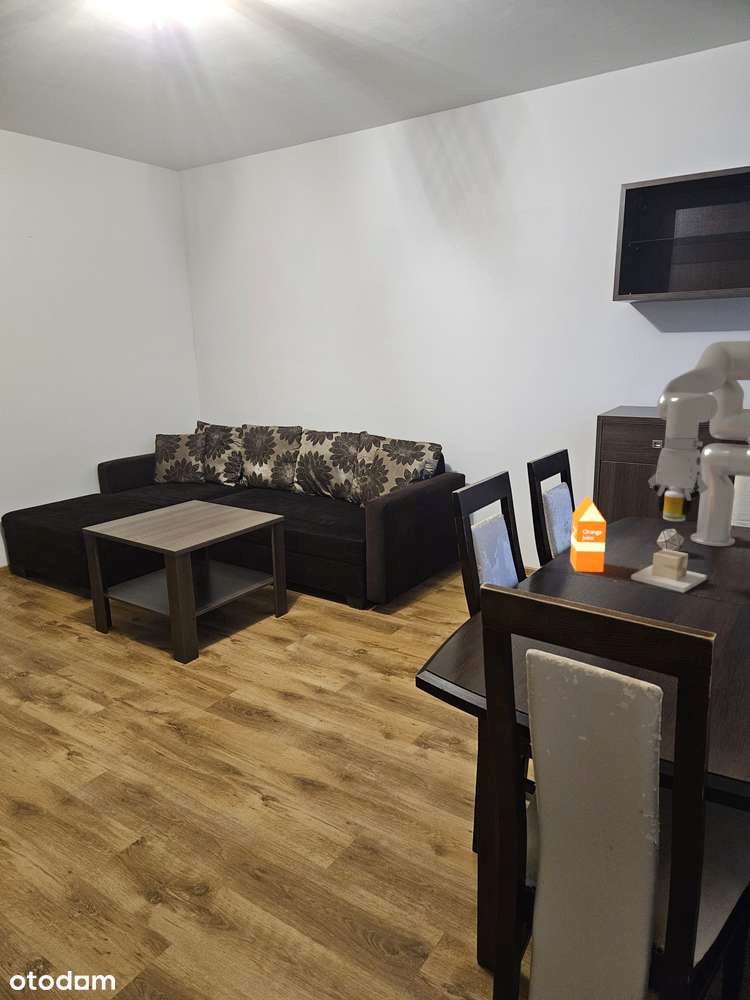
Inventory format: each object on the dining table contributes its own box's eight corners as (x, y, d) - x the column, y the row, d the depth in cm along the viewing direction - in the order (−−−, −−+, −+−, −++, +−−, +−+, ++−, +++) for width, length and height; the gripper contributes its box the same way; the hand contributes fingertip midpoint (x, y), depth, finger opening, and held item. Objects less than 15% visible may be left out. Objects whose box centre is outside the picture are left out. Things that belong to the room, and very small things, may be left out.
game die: (674, 566, 194) (692, 546, 187) (647, 555, 195) (664, 535, 188) (675, 545, 200) (693, 525, 193) (649, 535, 201) (665, 515, 194)
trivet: (654, 567, 182) (655, 563, 182) (706, 579, 172) (706, 575, 172) (631, 579, 173) (631, 575, 173) (683, 592, 163) (684, 588, 163)
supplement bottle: (683, 522, 165) (687, 485, 163) (661, 520, 168) (664, 484, 166) (686, 518, 170) (689, 482, 167) (664, 515, 172) (667, 480, 170)
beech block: (662, 569, 177) (664, 548, 175) (686, 575, 172) (688, 553, 171) (651, 574, 173) (653, 553, 171) (675, 580, 168) (677, 559, 167)
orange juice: (596, 562, 188) (601, 495, 183) (603, 572, 179) (608, 502, 175) (569, 561, 189) (573, 495, 184) (574, 571, 180) (578, 502, 176)
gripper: (721, 445, 161) (714, 515, 165) (654, 439, 173) (649, 504, 177) (709, 448, 156) (702, 520, 160) (641, 442, 168) (636, 509, 172)
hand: (674, 511), depth 168 cm, fingers closed on supplement bottle, 5 cm apart
